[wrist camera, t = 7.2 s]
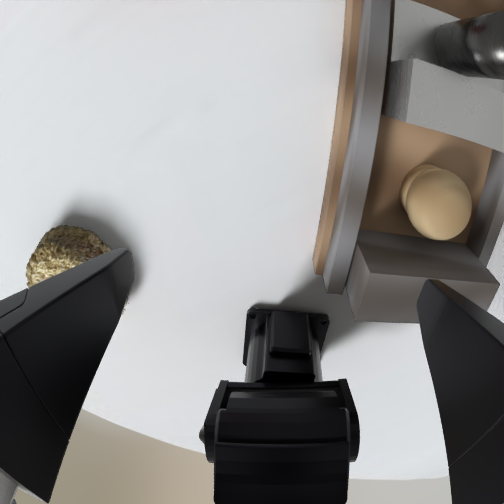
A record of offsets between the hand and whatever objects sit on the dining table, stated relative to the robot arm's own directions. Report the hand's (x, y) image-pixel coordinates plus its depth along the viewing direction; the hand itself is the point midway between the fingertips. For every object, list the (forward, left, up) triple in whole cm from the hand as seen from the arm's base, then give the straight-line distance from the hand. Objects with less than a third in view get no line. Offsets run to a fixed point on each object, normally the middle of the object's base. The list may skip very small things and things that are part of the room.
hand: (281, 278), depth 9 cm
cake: (-10, +16, -12) cm, 23 cm away
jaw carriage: (+8, -9, -10) cm, 16 cm away
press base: (+6, -9, -12) cm, 16 cm away
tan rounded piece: (0, -9, -10) cm, 13 cm away
